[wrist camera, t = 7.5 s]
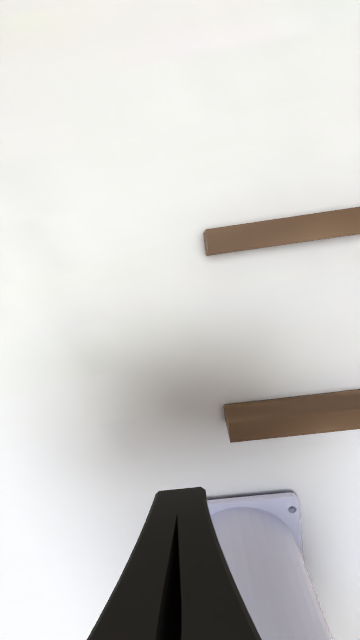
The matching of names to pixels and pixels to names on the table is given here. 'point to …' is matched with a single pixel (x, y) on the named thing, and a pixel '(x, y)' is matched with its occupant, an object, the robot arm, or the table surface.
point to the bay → (302, 410)
